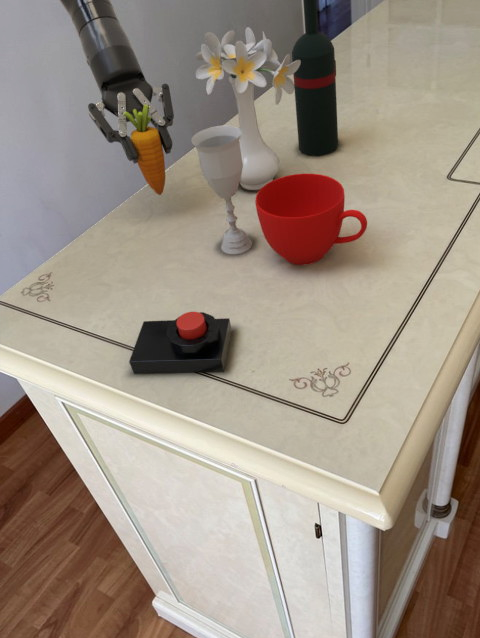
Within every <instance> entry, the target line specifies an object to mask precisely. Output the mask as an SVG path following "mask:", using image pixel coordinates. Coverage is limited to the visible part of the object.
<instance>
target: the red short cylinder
mask: <svg viewBox="0 0 480 638" xmlns="http://www.w3.org/2000/svg"><path fill="white" fill-rule="evenodd" d="M178 317H179V318H178ZM178 317H177V318H178V319H177V318H176V319H177V322H176V324H177V328H178V331H179V334H180V336H181V337H182V338H184V339H186V340H190V339H196V338H199V337H201V336H203V335H204V334H205V332H206V330H207V327H206V323H205V319H204V316H203V315H202V314H201V313H199V312H198V311H188V312H184V313H183V314H181V315H180V316H178Z"/></svg>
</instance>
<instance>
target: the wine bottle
mask: <svg viewBox="0 0 480 638" xmlns="http://www.w3.org/2000/svg"><path fill="white" fill-rule="evenodd" d="M303 11H304V12H303V15H304V29H305V33H303V34H302V35H301V36H300V37H299V38H298V39H297V40H296V42H295V44H294V45H293V48H292V50H291V60H292V62H291V63H293V62H295V61H297V60H300V61H301V63H300V66H299V68H298V69H297V71H296V72H295V73H294V74H292V75H293V83H294V100H295V115H296V127H297V128H296V129H297V138H298V140H297V142H298V150H299V152H300V153H301V154H303V155H305V156H307V157H321V156H327V155H331V154H332V153H334V152H336V151H337V149H338V147H339V128H338V127H339V125H338V107H337V106H338V105H337V82H336V81H337V80H336V78H337V62H336V55H335V47H334V44H333V42H332V41H331V39H330V38H329V37H328V36H326V34H324V33H322V32H320V31H319V22H318V21H319V19H318V18H319V17H318V1H317V0H303Z"/></svg>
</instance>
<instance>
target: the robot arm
mask: <svg viewBox="0 0 480 638" xmlns="http://www.w3.org/2000/svg"><path fill="white" fill-rule="evenodd" d="M58 1H59V2H60V4H61V5H62V6H63V8H64V9H65V11H66V12H67V14H68V16H69V18H70V20H71V21H72V25H73V27H74V29H75V31H76V33H77V36H78V38H79V41H80V43H81V44H80V45H81V48H82V51H83V54H84V57H85V59H86V63H87V65H88V67H89V69H90V70H91V73H92V76H93V78H94V80H95V83H96V85H97V87H98V89H99V90H98V91H99V92H100V94H101V100H100V101H98V102H97V103H93V102H91V103H88V105H87V110H88V115H89V118H90V119H91V120H92V121H93V123H94V124H95V126H96V127H97V128H98V130H99V131H100V133H101V134H102V135H103V137H104V138H105V139H106V141H107V142H108V143H110V144H113V143H119V144H120V145H121V146H122V149H123V151H124V153H125V154H124V155H125V157H126V159H127V160H128V161H129V162H132V163H133V164H138V156H137V153H136V151H135V148H134V146H133V144H132V141H131V136H129V135H128V131H127V128H128V127H127V126H128V125H127V123H128V122H129V123H130V120H129V119H128V118H127V117H126V116H124V112H128V113H129V114H131V115H132V117H133V118H134V119H135V120H136V118H135V116H134V113H133V110H134V109H136V110H137V113H139V112H142V113H143V106H144V104H147V105H148V106H149V113H148V116H151V117H152V118H151V120H150V122H149V124H151V125H152V127H153V128H156V129H157V130H158V131H159V134H160V139H161V143H162V148H163V152H164V154H166V155H168V154H171V151H172V149H173V140H172V137H171V135H170V132H169V129H168V127H172V126H173V125H174V118H175V114H174V108H173V101H172V96H171V90H170V85H168V83H163V84H162V85H161V86H152V85H151V84H150V83H149V82H148V81H147V80H146V77H145V74H144V73H143V70H142V68H141V65H140V63H139V61H138V58H137V56H136V54H135V51H134V48H133V47H132V44H131V42H130V39H129V37H128V35H127V33H126V31H125V30H124V28H123V26H122V24H121V22H120V19H119V16H118V15H117V13H116V10H115V7H114V4H113V3H112V1H111V0H58ZM153 97H155V98H156V99H157V101H158V102H159V103H161V104H162V110H163V116H161V114H160V113H159V112H158V111H157V108H156V107H155V106H154V104H152V99H153ZM105 110H106V111H108V112H109V113H111V114H112V115H113V116H115V117H117V118H118V119H117V120H118V130H117V129H116V130H115V129H113V127H112V126H111V125H110V123H109V121H108V120H107V119H106V117H105V115H106V114H105Z"/></svg>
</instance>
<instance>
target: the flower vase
mask: <svg viewBox="0 0 480 638" xmlns="http://www.w3.org/2000/svg"><path fill="white" fill-rule="evenodd" d="M244 33H245V42H246V44H245V43H244V42H243V41H242V40H237V41H236V42H235V45H233V44H232V43H233V41H234V39H235V35H236V33H235V31H234V30H232V29H231V30H229V31H227V32H226V33H225V34H224V36H223V37H222V39H221V41H220V40H219V38H218V37H217V35H215V34H214V33H213V32H212V31H211V32H206V33H205V34H204V41H205V43H202V44H201V45H200V46H201V47H200V51H199V52H198V53H197V54H196V55H195V59H196V60H197V61H204V62H205V63H206V64H203V65H201V66H199V67H198V68H197V69H196V71H195V77H196V79H198V80H206V79H207V81H206V86H205V89H206V93H207V94H206V95H211V94H212V92H213V90H214V87H215V86H216V84H217V81H218V80H219V81H222V80H223V79H224V76H225V72H226V73H227V74H229V75H228V81H229V83H230V85H231V87H232V90H233V93H234V98H235V102H236V107H237V114H238V123H239V124H238V125H239V129H240V130H241V135H240V139H239V143H240V150H241V156H242V162H243V168H242V174H241V179H240V182H239V185H240V187H242V188H243V189H245V190H247V191H259V190H260V189H261V188H262V187H263V186H265V185H266V184H268V183H269V182H271V181H273V180H274V177H276V175H277V174H278V172H279V170H280V165H281V164H280V162H281V161H280V158H279V156H278V154H277V153H276V151H275V150H274V149H272V148H271V147H270V146H269V145H267V144H266V142H265V141H264V138H263V137H262V135H261V132H260V128H259V123H258V117H257V113H256V106H255V94H254V93H255V92H254V91H255V90H254V89H255V86H256V87H257V88H266V87H267V85H268V82H267V79H266V77H264V75H263V74H262V73H260V72H265V73H268V74H270V75H272V76H273V79H272V82H271V83H272V87H273V88H274V98H275V101H274V102H275V105H277V106H278V105H280V103H281V101H282V96H283V91H284V92H285V93H287V94H288V95H293V93H295V89H294V80H292V78H290V77H289V76H292V75H293V74H294V73H295V72H296V71H297V69H298V68H299V66H300V63H301V61H300V60H297V61H295V62H290V61H291V54H290V53H287V54H286V55H285V57H284V58H283V60H282V62H281V63H280V62H279V60H278V59H279V58H278V54H277V52H276V51H275V49H274V48H273V42H272V40H271V39H268V38H267V37H266V34H265V32H264V31H262V39H261V40H260V41H258V42H257V43H256V36H255V33H254V32H253V30H252V29H251V28H250V27H248V26H247V27H246V28H245V32H244ZM274 70H275V71H274Z"/></svg>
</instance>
